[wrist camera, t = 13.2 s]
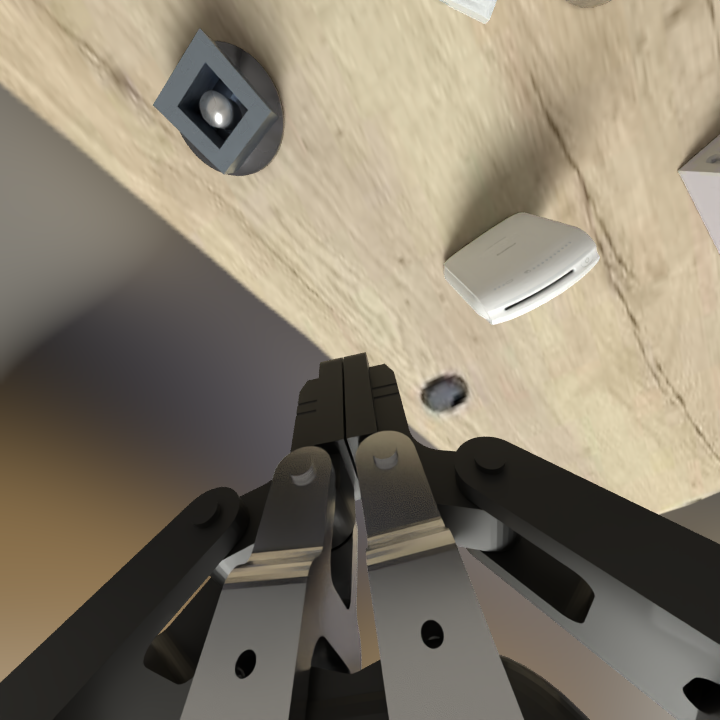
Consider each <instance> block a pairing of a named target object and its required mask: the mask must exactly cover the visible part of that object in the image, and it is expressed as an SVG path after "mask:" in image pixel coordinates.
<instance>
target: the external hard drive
mask: <svg viewBox="0 0 720 720" xmlns="http://www.w3.org/2000/svg"><path fill="white" fill-rule="evenodd" d="M440 1H442V2H444V3H446V4H447V5H448V6H449V7H451V8H453V9H455V10H457V11H459V12H461V13H463V14H465V15H467V16H469V17H471V18H473V19H475V20H477V21H479V22H481V23H483V24H486V23H487V22H488V21H489V20H490V17H491V15H492V12H493V9H494V6H495V4H496V1H497V0H440Z"/></svg>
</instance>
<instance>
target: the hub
mask: <svg viewBox="0 0 720 720" xmlns="http://www.w3.org/2000/svg"><path fill="white" fill-rule="evenodd" d="M214 42H215V43H216V44H217V45H218V46H219V47H220V48H221V49H222V50H223V51H224V53H225V54H226V55H227V56H228V57H229V58H230V60H231V61H232V62H233V63H234V64H235V65H236V67H237V68H238V69H239V70H240V71H241V73H242V74H243V75H244V76H245V77H246V78H247V80H248V81H249V82H250V83H251V84H252V85H253V87H254V88H255V89H256V90H257V91H258V92H259V94H260V95H261V96H262V97H263V98H264V99H265V101H266V102H267V103H268V104H269V105H270V106H271V108H272V109H273V110H274V111H275V112H276V113H277V115H278V116H279V118H278V119H277V120H276V122H275V123H274V124H273V126H272V127H271V128H270V129H269V131H268V132H267V133H266V135H265V136H264V137H263V139H262V140H261V141H260V143H259V144H258V145H257V146H256V148H255V149H254V150H253V152H252V153H251V154H250V156H249V157H248V158H247V159H246V161H245V162H244V163H243V165H242V166H241V167H240V169H239V170H238V171H237V172H235V173H229V174H228V175H235V176H244V175H249V174H253V173H256V172H258V171H260V170H262V169H264V168H265V167H266V166H268V165H269V164H270V163H271V162H272V160H273V159H274V158H275V156H276V155H277V153H278V151H279V149H280V146H281V143H282V139H283V134H284V114H283V108H282V103H281V100H280V97H279V94H278V92H277V89H276V87H275V85H274V83H273V81H272V80H271V78H270V76H269V75H268V74H267V72H266V71H265V70H264V68H263V67H262V66H261V65H260V64H259V63H258V62H257V61H256V60H255V59H254V58H253V57H252V56H251V55H250V54H248V53H247V52H245V51H244V50H243V49H241V48H239V47H237V46H235V45H232V44H229V43H226V42H220V41H214ZM247 111H248V109H247V108H246V107H245V106H244V105H243V104H242V103H241V102H240V100H239V99H238V98H237V97H236V96H235V95H234V94H233V93H232V91H231V90H230V89H229V88H228V87H227V86H226V85H225V84H224V82H223V81H222V80H221V79H219V80H218V82H217V83H216V85H215V86H214V88H213V89H212V91H207V92H205V93H204V94H203V95H202V97H201V99H200V109H199V110H198V112H197V113H198V114H199V115H200V116H201V117H202V118H203V119H204V120H205V121H206V122H207V123H208V124H209V125H210V126H211V127H212V128H213V129H214V131H215V132H216V133H217V134H218V135H219V136H220V137H221V138H222V139H223V140H224V141H226V140H227V139H228V137H229V136H230V134H231V133H232V132H233V130H234V129H235V128H236V126H237V125H238V123H239V122H240V121H241V119H242V118H243V117H244V115H245V114H246V112H247ZM180 133H181V132H180ZM181 135H182V137H183V138H184V140H185V142H186V143H187V145H188V146H189V147H190V149H191V150H192V151H193V152H194V153H195V155H196V156H197V157H198V158H199V159H201V160H202V161H203V162H204V163H205V164H207V165H208V166H210V167H211V168H213V169H215V170H217V171H219V172H221V171H220V170H219V169H218V168H217V167H216V166H215V165H214V164H213V163H212V162H211V161H210V160H209V159H207V158H206V157H205V156H204V155H203V154H202V153H201V152H200V151H199V150H198V149H197V148H196V147H195V146H194V145H193V144H192V143H191V142H190V141H189V140H188V139H187V138H186V137H185V136H184V135H183V134H182V133H181Z"/></svg>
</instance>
